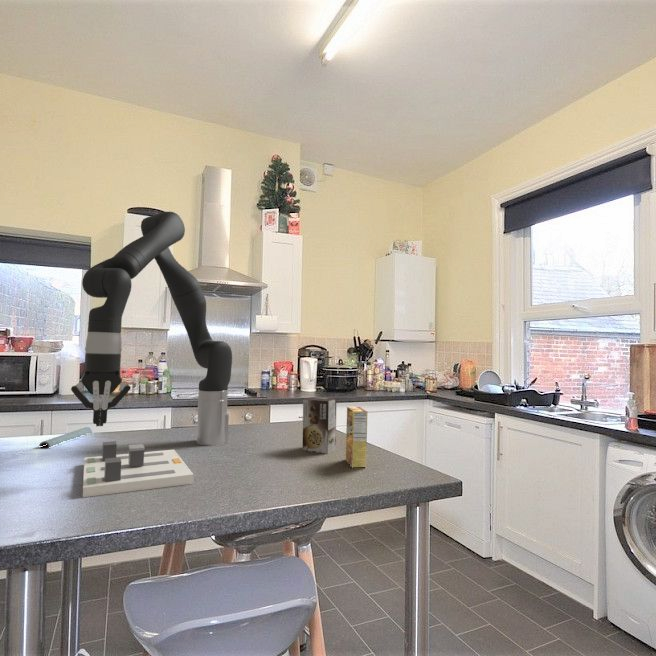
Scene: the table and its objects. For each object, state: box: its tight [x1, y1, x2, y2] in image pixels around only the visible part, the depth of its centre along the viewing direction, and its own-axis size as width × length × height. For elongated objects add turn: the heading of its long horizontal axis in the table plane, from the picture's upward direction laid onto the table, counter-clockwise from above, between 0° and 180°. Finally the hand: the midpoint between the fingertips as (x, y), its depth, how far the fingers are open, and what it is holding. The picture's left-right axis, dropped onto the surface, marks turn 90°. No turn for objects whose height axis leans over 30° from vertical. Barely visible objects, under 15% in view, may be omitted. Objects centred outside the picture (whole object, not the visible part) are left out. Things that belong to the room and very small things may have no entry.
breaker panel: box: [82, 440, 194, 498], centre depth 105 cm, size 22×26×6 cm
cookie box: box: [301, 396, 337, 454], centre depth 135 cm, size 9×6×16 cm
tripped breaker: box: [128, 443, 146, 467], centre depth 105 cm, size 3×4×4 cm
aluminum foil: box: [38, 426, 93, 448], centre depth 137 cm, size 23×7×3 cm, turn 0°
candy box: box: [345, 406, 368, 469], centre depth 120 cm, size 9×4×15 cm, turn 10°
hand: (99, 425), depth 101 cm, fingers closed
